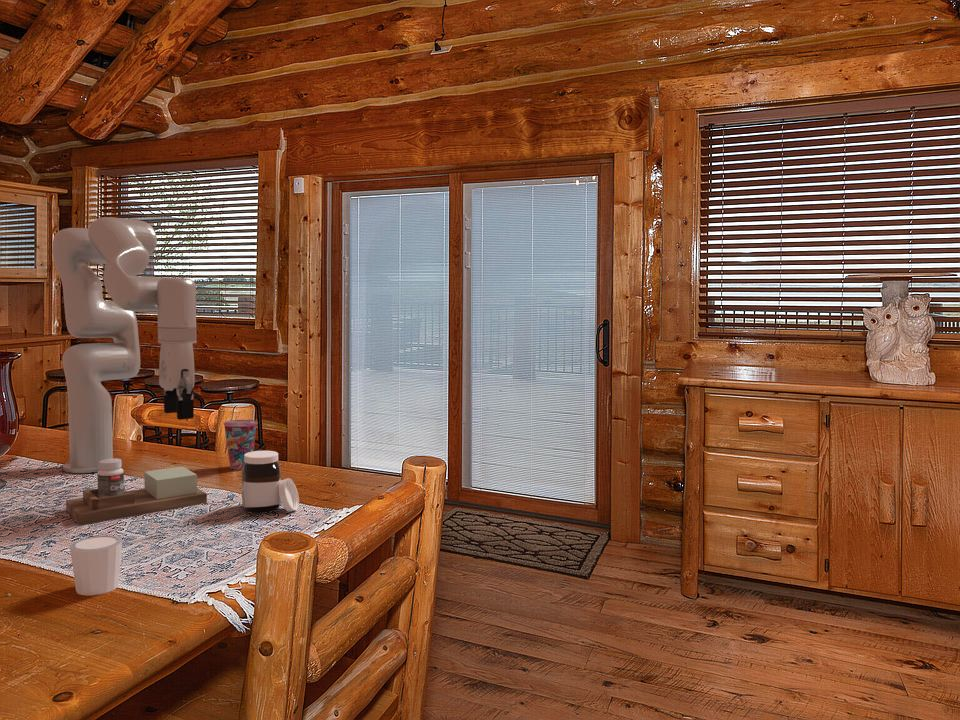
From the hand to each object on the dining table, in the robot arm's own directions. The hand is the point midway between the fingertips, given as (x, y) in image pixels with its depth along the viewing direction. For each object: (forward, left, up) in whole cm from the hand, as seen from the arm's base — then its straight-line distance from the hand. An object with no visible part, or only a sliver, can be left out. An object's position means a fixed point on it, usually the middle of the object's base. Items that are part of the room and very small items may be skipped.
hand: (178, 415), depth 146 cm
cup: (-19, +22, -19) cm, 34 cm away
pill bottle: (0, -13, -17) cm, 21 cm away
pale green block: (0, -2, -16) cm, 16 cm away
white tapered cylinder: (+39, -24, -19) cm, 49 cm away
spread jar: (+18, +13, -19) cm, 29 cm away
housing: (0, -8, -18) cm, 20 cm away
